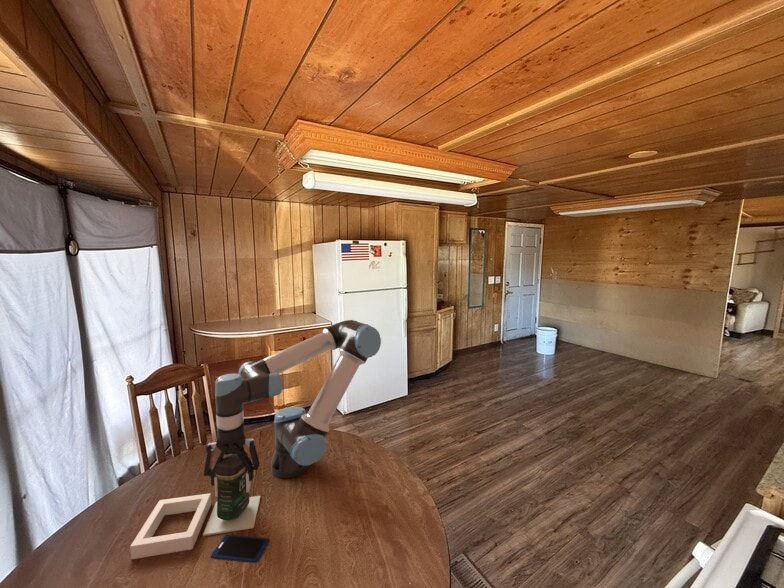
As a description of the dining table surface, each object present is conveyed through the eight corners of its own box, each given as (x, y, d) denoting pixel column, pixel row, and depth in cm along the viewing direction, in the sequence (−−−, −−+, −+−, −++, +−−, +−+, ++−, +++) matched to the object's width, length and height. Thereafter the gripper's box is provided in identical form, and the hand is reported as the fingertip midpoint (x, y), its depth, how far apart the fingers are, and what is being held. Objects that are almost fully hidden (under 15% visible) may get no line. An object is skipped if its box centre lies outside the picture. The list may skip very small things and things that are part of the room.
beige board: (260, 497, 111) (260, 495, 111) (253, 528, 99) (253, 526, 99) (216, 503, 108) (216, 501, 108) (203, 536, 96) (203, 534, 95)
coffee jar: (236, 523, 98) (234, 467, 96) (212, 520, 99) (209, 464, 97) (254, 500, 107) (252, 448, 105) (232, 497, 109) (230, 445, 106)
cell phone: (225, 536, 96) (225, 533, 96) (270, 540, 95) (270, 538, 95) (209, 559, 89) (209, 556, 89) (257, 564, 88) (257, 561, 88)
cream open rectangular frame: (211, 504, 108) (210, 493, 107) (192, 549, 91) (191, 536, 91) (160, 511, 104) (159, 500, 104) (131, 559, 88) (130, 546, 87)
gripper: (268, 415, 106) (270, 478, 109) (197, 421, 101) (200, 488, 104) (264, 427, 99) (266, 495, 101) (187, 434, 94) (192, 505, 96)
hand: (233, 491), depth 102 cm, fingers closed on coffee jar, 8 cm apart
